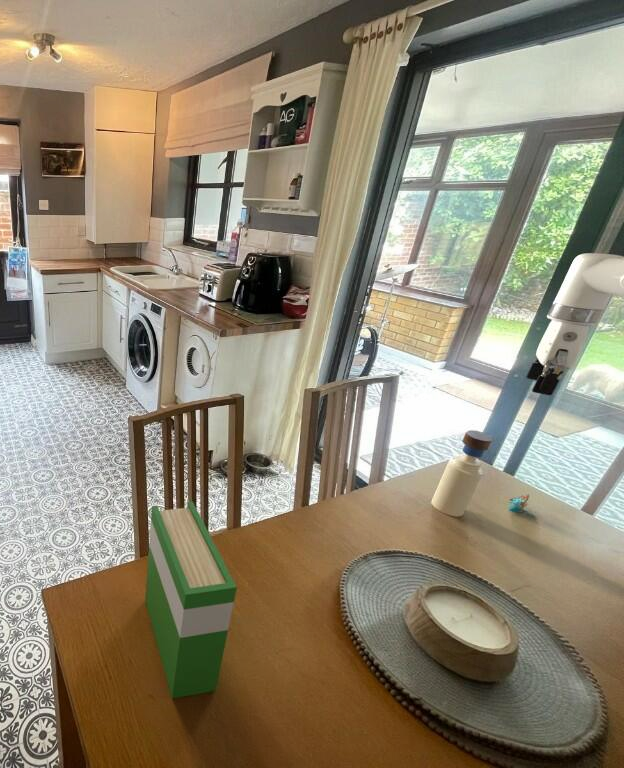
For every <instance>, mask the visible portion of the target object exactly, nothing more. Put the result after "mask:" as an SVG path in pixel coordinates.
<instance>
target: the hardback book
mask: <svg viewBox="0 0 624 768" xmlns="http://www.w3.org/2000/svg"><path fill="white" fill-rule="evenodd" d="M147 555H148V557H147V570H146V583H145V597H144V602H145V606H146V609H147V612H148V616H149V620H150V623H151V628H152V630H153V635H154V638H155V642H156V645H157V649H158V652H159V656H160V660H161V664H162V667H163V671H164V674H165V679H166V682H167V686H168V690H169V693H170V696H171V699H172V700H173V699H179V698H184V697H188V696H194V695H200V694H205V693H209V692H215V691H216V690H217V686H218V683H219V682H218V681H219V676H220V671H221V666H222V663H223V656H224V652H225V648H226V643H227V638H228V633H229V629H230V628H229V627H230V624H231V618H232V614H233V609H234V604H235V599H236V594H237V589H238V586H237V584H236V582H235V581H234V578H233V577H232V575H231V572H229V569H228V567H227V565H226V564H225V561H224V559H223V557H222V555H221V553H220V551H219V550H218V548H217V545H216V543H215V542H214V539H213V538H212V536H211V534H210V532H209V530H208V529H207V526H206V524H205V522H204V521H203V518H202V517H201V515H200V513H199V511H198V509H197V507H196V505H195V503H194V501H187V503H186V507H181V508H171V509H162V510H160V509H159V506H158V505H152V506H151V515H150V529H149V542H148V554H147Z"/></svg>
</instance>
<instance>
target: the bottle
mask: <svg viewBox="0 0 624 768" xmlns="http://www.w3.org/2000/svg"><path fill="white" fill-rule="evenodd" d="M462 452H463V453H464V454H457V455H456V457H455V458H450V459H449V460H448V461H447V465H446V466H445V469H444V471H443V474H442V476H441V478H440V481H439V483H438V485H437V487H436V489H435V492H434V495H433V497H432V499H431V505H432V506H433V507H434V508H435V509H436V510H438V511H439V512H441V513H443V514H445V515H448V516H451V517H462V516H464V513H465V512H466V509H467V507H468V505H469V503H470V501H471V499H472V497H473V495H474V494H475V491H476V489H477V487H478V485H479V483H480V481H481V479H482V476H483V475H484V470H483V468H482V467H481V466H482V461H480V460H479V458H482V457H483V455H484V453H485V452H486V450H477V449H474V448H471V447H469V446H467V445H465V444H464V446H463V448H462Z"/></svg>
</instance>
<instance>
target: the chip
mask: <svg viewBox="0 0 624 768" xmlns="http://www.w3.org/2000/svg"><path fill="white" fill-rule="evenodd" d="M493 440H494V438H493V437H492V436H491V435H490V434H487V433H486V432H483V431H479V430H474V429H469V430H466V431H465V434H464V435H463V437H462V444H464V445H467V446H469V447H471V448H474V449H477V450H485V451H488V450H489V449H490V447H491V445H492V442H493Z"/></svg>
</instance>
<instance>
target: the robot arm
mask: <svg viewBox="0 0 624 768" xmlns="http://www.w3.org/2000/svg"><path fill="white" fill-rule="evenodd" d="M612 296H614V297H615V296H616V297H619V298H622V299H624V256H623V255H619V254H609V253H595V252H594V253H593V252H592V253H591V252H589V253H582V254H579V255H577V256H576V257H575V258H574V259H573V261H572V263H571V265H570V267H569V269H568V271H567V273H566V274H565V278H564V280H563V282H562V283H561V286H560V288H559V290H558V292H557V294H556V297H555V299H554V301H553V302H552V305H551V308H550V309H549V311H548V313H547V315H546V318H547V319H549V320H550V322H549V324H548V325H547V328H546V330H545V332H544V334H543V336H542V338H541V340H540V342H539V344H538V346H537V349H536V352H535V356H536V357H535V358H534V360H533V362H532V363H531V366H530V367H529V369H528V371H527V374H526V376H525V377H526V379H527V380H534V381H535V383H534V385H533V387H532V389H531V391H532V393H535V394H540V395H545V396H553V394H554V392H555V390H556V388H557V386H558V384H559V382H560V380H561V378H562V375H563V374H564V369H565V370H567V371H569V370H572V369H573V368H574V366H575V364H576V362H577V360H578V357H579V356H580V353H581V352H582V349H583V346H584V345H585V343H586V339H587V337H588V334H589V332H590V329H591V326H596V325H597V323H598V322H599V320H600V318H601V316H602V314H603V313H604V310H605V308H606V307H607V305H608V303H609V302H610V299H611V297H612Z"/></svg>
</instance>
